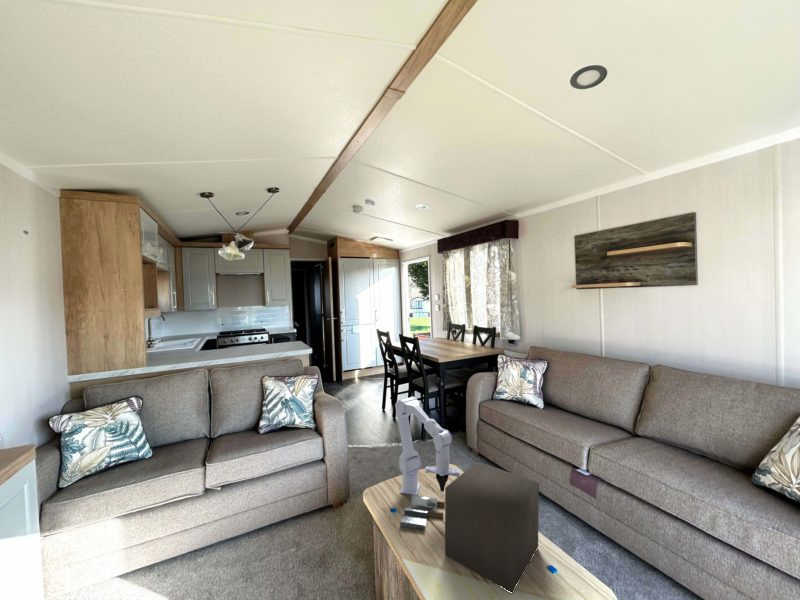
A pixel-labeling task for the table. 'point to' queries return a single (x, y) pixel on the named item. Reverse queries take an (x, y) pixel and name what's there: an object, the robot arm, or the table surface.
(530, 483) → the wood block
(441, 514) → the brown piece
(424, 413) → the robot arm
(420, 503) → the grey metal cylinder
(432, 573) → the table surface
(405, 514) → the cradle
